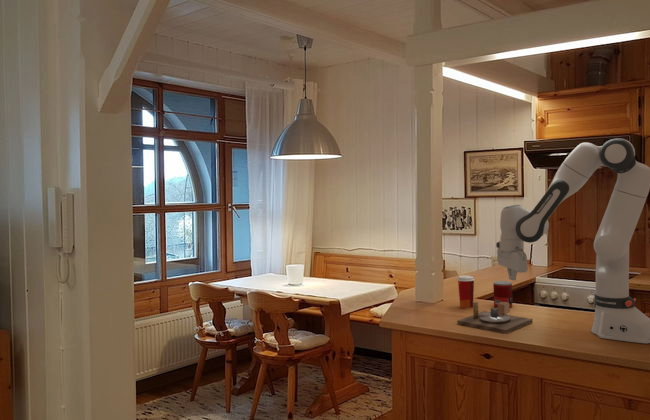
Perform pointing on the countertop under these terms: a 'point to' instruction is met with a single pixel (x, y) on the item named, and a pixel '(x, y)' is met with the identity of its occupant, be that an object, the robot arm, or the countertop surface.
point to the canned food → (502, 292)
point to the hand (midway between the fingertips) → (512, 279)
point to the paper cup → (466, 291)
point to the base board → (496, 327)
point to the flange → (497, 314)
